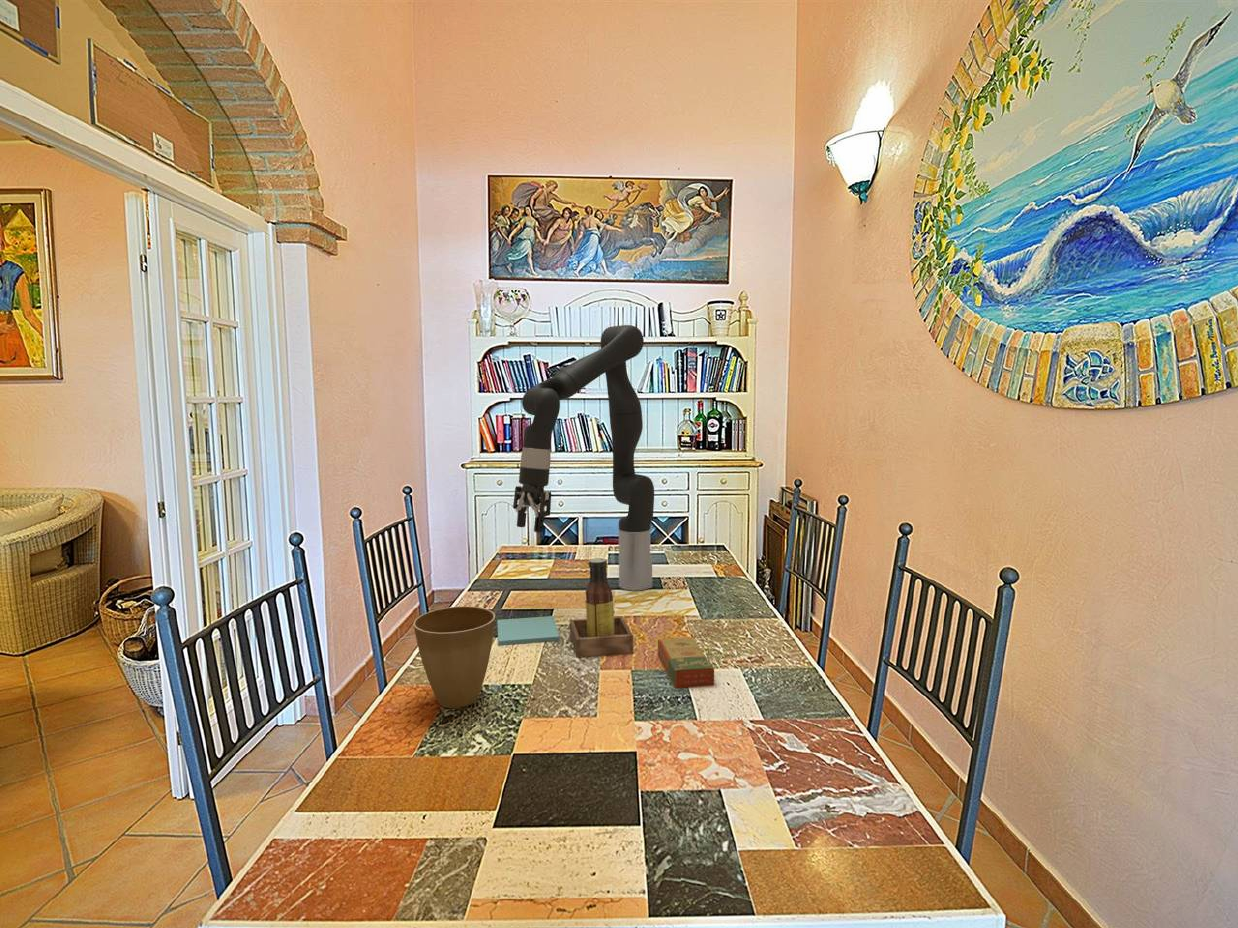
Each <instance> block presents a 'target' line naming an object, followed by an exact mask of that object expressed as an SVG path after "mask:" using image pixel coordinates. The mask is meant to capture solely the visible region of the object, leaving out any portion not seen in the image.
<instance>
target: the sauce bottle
mask: <svg viewBox="0 0 1238 928" xmlns="http://www.w3.org/2000/svg"><path fill="white" fill-rule="evenodd" d="M607 563H608V562H607V559H606V558H604V557H595V558H594V557H593V558H590V559H589V560H588V567H589V581H588V583H587V585H586V589H585V610H586V619H587V636H586V638H589V637H602V636H615V635H616V634H615V631H614V617H615V615H614V613H615V612H614V596H613V590H612V588H611V586H610V584H609V582H608V576H607V566H608V565H607Z"/></svg>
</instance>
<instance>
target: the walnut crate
mask: <svg viewBox="0 0 1238 928" xmlns="http://www.w3.org/2000/svg"><path fill="white" fill-rule="evenodd" d="M614 631H615V636H602V637H589V638H587V618H575V619H569V638H570V640H571V644H572V647H573V651H574V650H575V651H574V654H575V653H576V654H575V656H576V658H587V657H588V658H589V657H598V656H608V655H609V656H610V655H611V656H612V655H623V654H634V634H633V633H632V631H631V629H630V627H629V626H628V625H627V623H626V620H625V619H624V617H623V616H622V615H621V616H620V615H618V616H614Z"/></svg>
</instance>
